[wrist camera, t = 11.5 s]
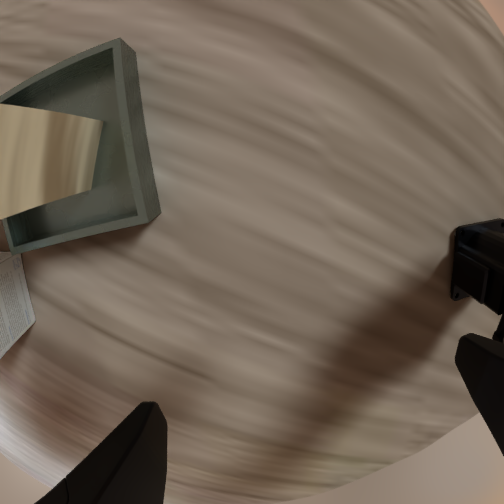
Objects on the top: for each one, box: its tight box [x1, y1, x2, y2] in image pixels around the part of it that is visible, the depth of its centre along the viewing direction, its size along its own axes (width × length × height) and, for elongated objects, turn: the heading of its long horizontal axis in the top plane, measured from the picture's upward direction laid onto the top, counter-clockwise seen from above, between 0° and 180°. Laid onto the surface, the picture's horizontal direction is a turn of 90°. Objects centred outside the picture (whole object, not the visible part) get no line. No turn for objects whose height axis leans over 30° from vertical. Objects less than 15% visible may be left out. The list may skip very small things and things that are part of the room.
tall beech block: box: [0, 104, 104, 220], centre depth 10 cm, size 4×4×12 cm
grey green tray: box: [0, 38, 161, 255], centre depth 15 cm, size 11×11×3 cm
